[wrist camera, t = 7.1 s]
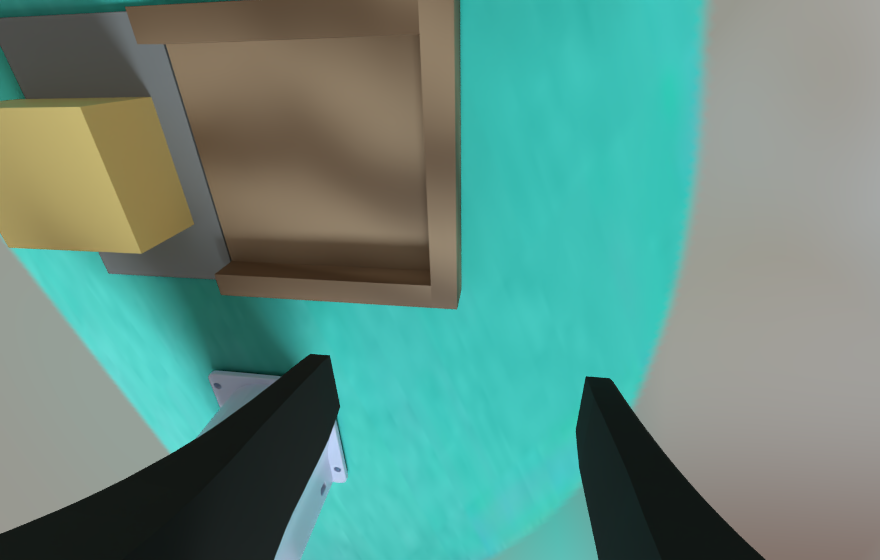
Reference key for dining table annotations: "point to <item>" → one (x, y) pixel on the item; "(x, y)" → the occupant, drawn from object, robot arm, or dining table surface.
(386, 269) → the brown wooden tray
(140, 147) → the block
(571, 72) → the dining table surface
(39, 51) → the mat
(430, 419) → the dining table surface
